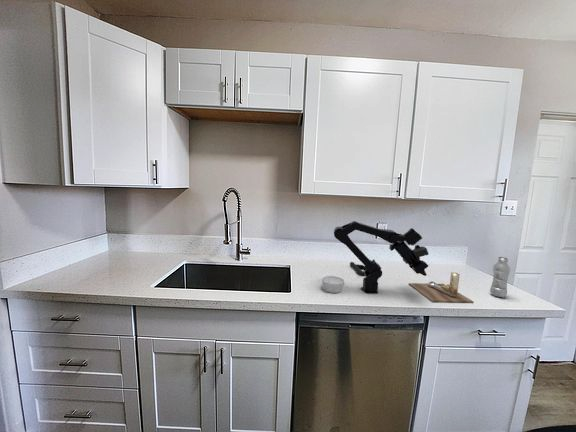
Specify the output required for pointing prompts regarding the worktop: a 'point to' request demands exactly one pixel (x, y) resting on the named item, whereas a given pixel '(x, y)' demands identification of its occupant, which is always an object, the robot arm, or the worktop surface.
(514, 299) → the worktop surface
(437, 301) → the walnut board
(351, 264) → the door handle
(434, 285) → the beige lever tool
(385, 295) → the worktop surface
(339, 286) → the ramekin
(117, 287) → the worktop surface
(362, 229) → the robot arm
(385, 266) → the worktop surface
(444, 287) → the plate
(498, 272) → the plastic bottle
